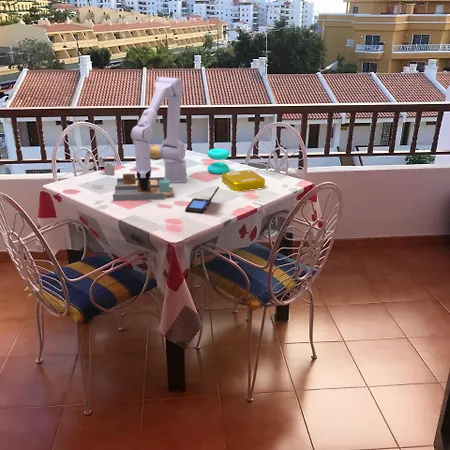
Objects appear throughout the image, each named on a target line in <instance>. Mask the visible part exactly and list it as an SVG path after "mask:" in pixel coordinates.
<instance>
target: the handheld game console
mask: <svg viewBox="0 0 450 450" xmlns="http://www.w3.org/2000/svg"><path fill="white" fill-rule="evenodd" d="M219 188H220V186H217V187H216V189H215V191H214V192H213V194H212V195H211V196H210V197H209V198H208V199H207V198H196V197H195V198H192V199H191V200H190V202H189V203H188V205H187V206H186V207H185V209H184V212H185V213H190V214H199V215H200V214H202V215H203V214H205V212H206V210H207V208H208V207H209V206H210V205H211V203H212V199H213V198H214V197H215V195H216V193H217V192H218V190H219Z"/></svg>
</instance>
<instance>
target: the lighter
mask: <svg viewBox="0 0 450 450" xmlns="http://www.w3.org/2000/svg"><path fill="white" fill-rule="evenodd" d="M97 161H98V163H99V166H101V167H104V176H115V174H116V173H115V165H113V164H112V163H110V162H107V163H105V160H104V159H103V157H102V156H99V157H97Z"/></svg>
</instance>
